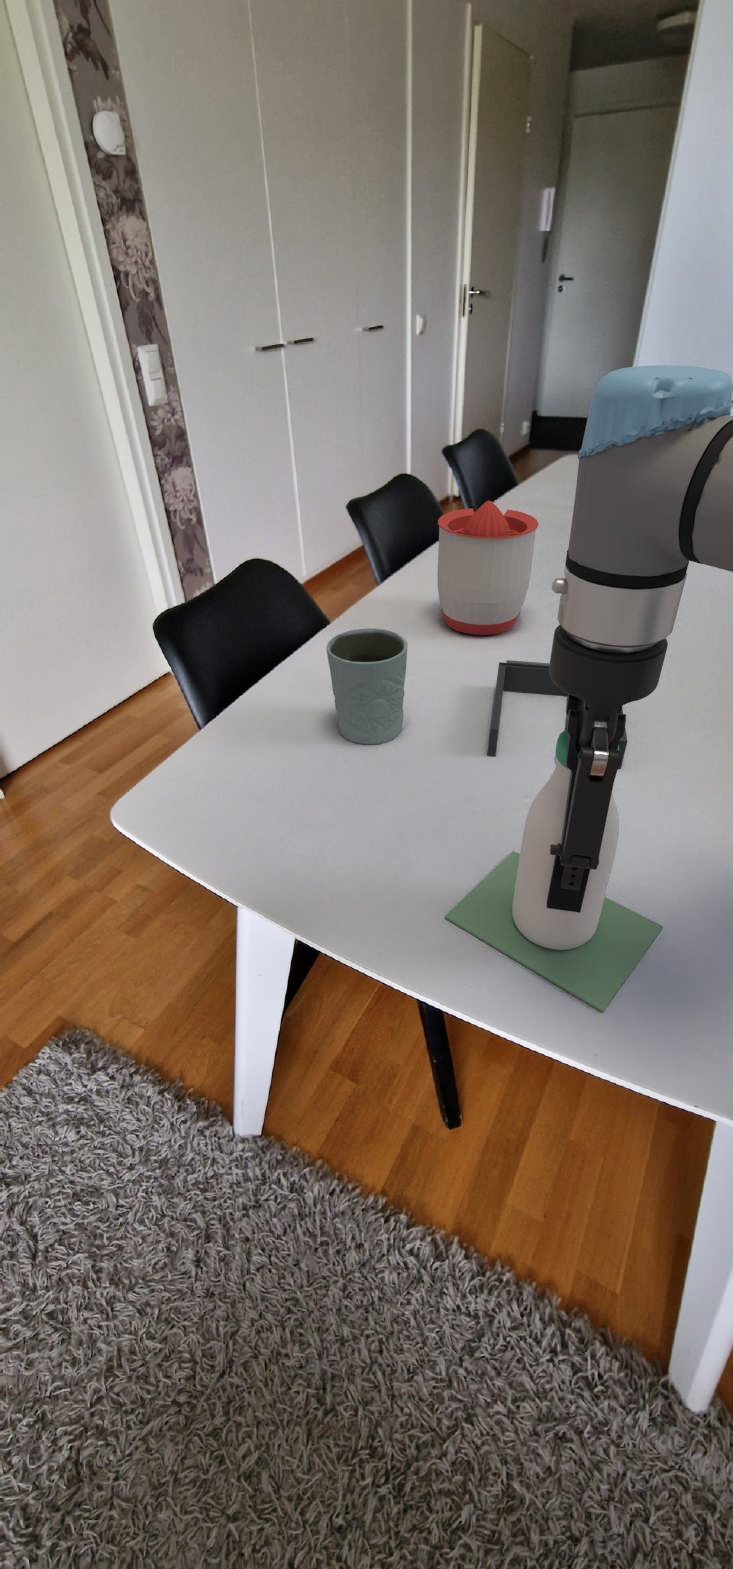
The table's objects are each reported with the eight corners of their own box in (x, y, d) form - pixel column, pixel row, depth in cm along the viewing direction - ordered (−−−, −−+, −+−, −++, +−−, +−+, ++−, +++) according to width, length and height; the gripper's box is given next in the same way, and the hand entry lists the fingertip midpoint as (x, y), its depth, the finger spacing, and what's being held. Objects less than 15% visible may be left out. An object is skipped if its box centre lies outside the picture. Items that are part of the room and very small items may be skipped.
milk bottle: (605, 952, 62) (656, 768, 50) (517, 953, 62) (547, 769, 50) (585, 890, 68) (625, 713, 56) (505, 890, 68) (529, 714, 57)
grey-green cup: (383, 755, 88) (382, 669, 81) (316, 735, 92) (309, 651, 85) (419, 718, 95) (421, 636, 88) (355, 701, 99) (352, 621, 92)
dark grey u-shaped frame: (496, 687, 102) (499, 658, 99) (611, 696, 99) (617, 667, 96) (487, 755, 88) (490, 724, 85) (620, 769, 85) (628, 737, 82)
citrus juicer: (526, 603, 126) (540, 486, 114) (525, 645, 112) (541, 517, 101) (439, 599, 129) (444, 483, 117) (428, 639, 115) (432, 513, 103)
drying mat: (662, 928, 65) (663, 926, 64) (602, 1013, 57) (603, 1010, 57) (513, 852, 73) (513, 850, 73) (444, 918, 66) (444, 916, 66)
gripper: (555, 573, 57) (523, 797, 70) (555, 699, 41) (514, 957, 54) (652, 578, 55) (601, 805, 69) (692, 711, 39) (615, 972, 53)
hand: (562, 872), depth 62 cm, fingers closed on milk bottle, 8 cm apart
